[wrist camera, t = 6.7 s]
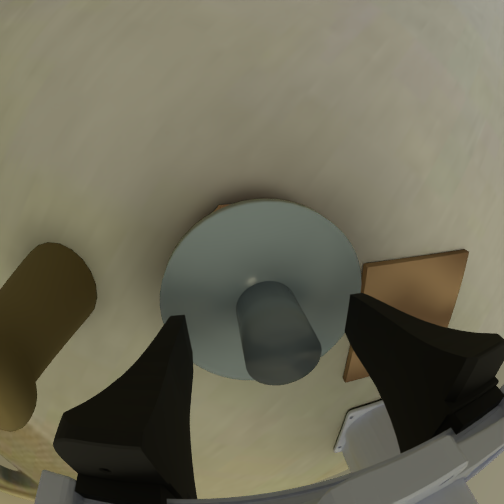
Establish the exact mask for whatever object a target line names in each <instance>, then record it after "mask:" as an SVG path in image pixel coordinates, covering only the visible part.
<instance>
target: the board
mask: <svg viewBox="0 0 504 504" xmlns="http://www.w3.org/2000/svg"><path fill="white" fill-rule="evenodd" d="M468 254H469V252H468V251H467V250H465V249H463V250H457V251H450V252H444V253H437V254H430V255H423V256H417V257H409V258H402V259H395V260H388V261H380V262H373V263H365V264H363V272H362V279H361V293H364V294H367V295H369V296H372V297H374V298H376V299H378V300H380V301H382V302H384V303H386V304H388V305H390V306H392V307H394V308H396V309H398V310H400V311H402V312H405V313H407V314H409V315H411V316H414V317H416V318H418V319H421V320H424V321H426V322H429V323H432V324H435V325H439V326H442V327H446V328H447V327H448V324H449V321H450V318H451V315H452V312H453V309H454V306H455V303H456V300H457V296H458V293H459V290H460V286H461V282H462V279H463V275H464V271H465V267H466V263H467V258H468ZM368 376H369V374H368V372H367V371H366V369H365V368H364V366H363V365H362V363H361V362H360V360H359V358H358V357H357V355H356V354H355V352H354V350H353V349H352V347H351V345H350V349H349V354H348V358H347V363H346V367H345V371H344V376H343V379H344V381H345V383H346V382H350V381H353V380H357V379H361V378H364V377H368Z"/></svg>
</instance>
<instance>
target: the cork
mask: <svg viewBox="0 0 504 504" xmlns="http://www.w3.org/2000/svg"><path fill="white" fill-rule="evenodd" d="M96 300H97V292H96V284H95V281H94V279H93V276H92V273H91V271H90V270H89V268H88V267H87V265H86V264H85V262H84V261H83V259H82V258H80V257H79V256H78V255H77V254H76V253H75V252H74V251H73V250H71V249H69V248H67V247H65V246H63V245H61V244H58V243H50V242H47V243H44V244H41V245H38V246H37V247H36V248H34V249H33V250H32V251H31V252H30V253H29V254H28V256H27V257H26V258H25V259H24V260H23V262H22V263H21V264H20V265H19V266H18V268H17V269H16V270H15V271H14V273H13V274H12V275H11V276H10V278H9V279H8V280H7V281H6V283H5V284H4V285H3V287H2V288H1V289H0V430H4V431H9V432H12V431H16V430H19V429H21V428H23V427H24V426H25V425H26V424H27V422H28V421H29V420H30V418H31V416H32V414H33V412H34V409H35V407H36V401H37V388H36V381H37V379H38V378H39V377H40V375H41V374H42V373H43V371H44V370H45V369H46V368H47V366H48V365H49V364H50V363H51V361H52V360H53V359H54V357H55V356H56V355H57V354H58V353H59V351H60V350H61V349H62V348H63V346H64V345H65V344H66V343H67V342H68V340H69V339H70V338H71V337H72V336H73V334H74V333H75V332H76V331H77V330H78V328H79V327H80V326H81V325H82V324H83V323H84V322H85V320H86V319H87V318H88V317H89V316H90V314H91V313H92V311H93V310H94V309H95V304H96Z"/></svg>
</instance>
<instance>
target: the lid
mask: <svg viewBox="0 0 504 504" xmlns="http://www.w3.org/2000/svg"><path fill="white" fill-rule="evenodd" d="M356 293H361V271H360V266H359V262H358V259H357V256H356V253H355V251H354V249H353V247H352V245H351V243H350V242H349V240H348V239H347V238H346V236H345V235H344V234H343V232H342V231H340V230H339V229H338V228H337V227H336V226H335V225H334V224H333V223H332V222H330V221H329V220H327V219H326V218H324V217H323V216H322V215H320V214H319V213H317V212H316V211H314V210H312V209H310V208H308V207H306V206H304V205H301V204H298V203H295V202H291V201H287V200H281V199H266V198H261V199H252V200H245V201H241V202H237V203H233V204H230V205H228V206H226V207H223V208H221V209H218V210H216V211H215V212H213V213H211V214H209V215H208V216H206V217H204V218H203V219H202V220H201V221H199V222H198V223H197V224H195V225H194V226H193V227H192V228H191V229H190V230H189V231H188V232H187V233H186V234H185V235H184V236H183V238H182V239H181V240H180V242H179V243H178V244H177V246H176V247H175V249H174V251H173V253H172V255H171V257H170V259H169V262H168V264H167V267H166V270H165V273H164V277H163V280H162V285H161V291H160V309H161V316H162V320H163V323H164V324H165V323H166V321H167V320H168V318H169V317H170V316H173V315H185V318H186V323H187V328H188V333H189V338H190V342H191V347H192V351H193V363H194V364H196V365H197V366H199V367H201V368H203V369H205V370H207V371H209V372H211V373H214V374H217V375H219V376H223V377H227V378H232V379H239V380H256V381H258V382H260V383H263V384H267V385H284V384H288V383H292V382H294V381H297V380H299V379H301V378H303V377H304V376H306V375H307V374H308V373H310V372H311V371H312V370H313V369H314V368H315V366H316V365H317V363H318V362H319V360H320V357H321V356H323V355H324V354H325V353H327V352H328V351H329V350H330V349H331V348H332V347H333V346H334V345H335V344H336V343H337V342H338V340H339V339H340V338H341V337H342V336H343V334H344V333H345V325H346V319H347V313H348V306H349V299H350V294H356Z"/></svg>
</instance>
